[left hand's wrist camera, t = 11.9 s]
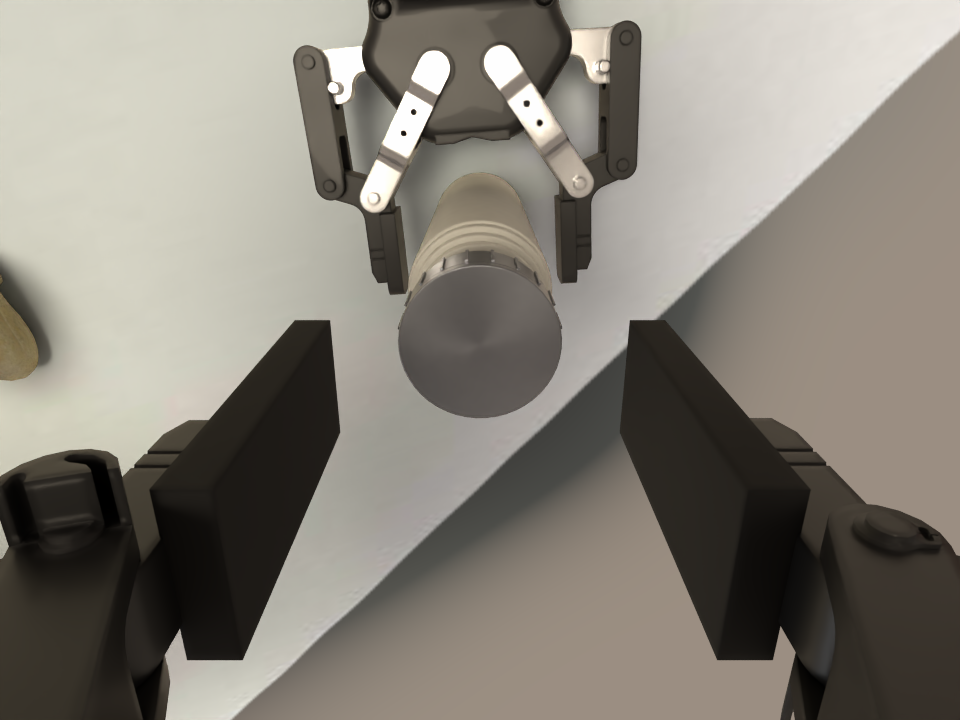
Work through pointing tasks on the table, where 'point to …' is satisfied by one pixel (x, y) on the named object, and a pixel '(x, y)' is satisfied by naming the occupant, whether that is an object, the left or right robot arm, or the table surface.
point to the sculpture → (15, 344)
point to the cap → (480, 335)
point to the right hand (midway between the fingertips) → (483, 284)
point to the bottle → (479, 226)
